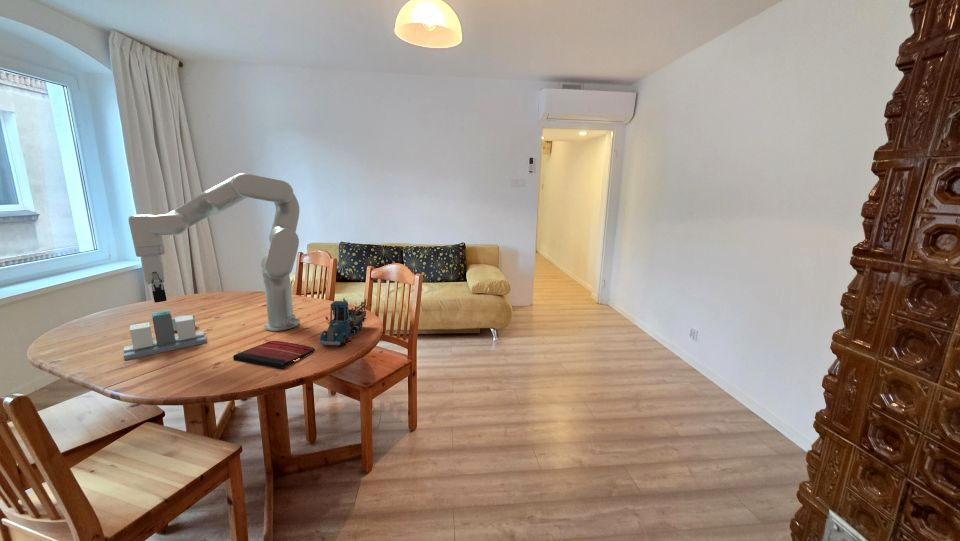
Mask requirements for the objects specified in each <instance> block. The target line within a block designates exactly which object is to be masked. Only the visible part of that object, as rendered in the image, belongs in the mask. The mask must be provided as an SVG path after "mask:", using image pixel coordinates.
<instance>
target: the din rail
mask: <svg viewBox="0 0 960 541" xmlns="http://www.w3.org/2000/svg"><path fill="white" fill-rule="evenodd" d="M197 332H198V333H196V337H194V338H199V337H203V336H205V333H204V331H202V332H200V331H197ZM194 338H189V339H194ZM189 339H184V340H189ZM184 340H179V338H178V337H175V341H174V342H179V341H184ZM174 342H169V343H174ZM169 343H164V344H169ZM164 344H159V345H164ZM131 345H132V346H128V345H126V346H127V347H125V346H124V347H123V354H124V353H125V352H130V351H134V350H139V349H144V348H149V347H154V346H159V345H157V341H154V340H153V346H149V347H144V348H139V349H133V344H131Z"/></svg>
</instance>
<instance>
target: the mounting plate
mask: <svg viewBox="0 0 960 541" xmlns="http://www.w3.org/2000/svg"><path fill="white" fill-rule="evenodd" d="M195 332H196V333H198V332H203V330H200V331H195ZM175 337H178V335H175ZM153 341H156V339H155V340H153ZM206 343H207V339H206V337H205V335H204V336H203V337H199V338H194V339H189V340H184V341H179V342H174V343H169V344H164V345H159V346H154V347H149V348H144V349H139V350H134V351H130V352H125V353H124V352H123V359H124V361H126V360H131V359H136V358H141V357H145V356H150V355H155V354H160V353H164V352H168V351H172V350H173V351H174V350H178V349H179V350H180V349H182V348H187V347H192V346H196V345H201V344H206ZM132 345H133V344H130V345H124V347H127V346H132Z"/></svg>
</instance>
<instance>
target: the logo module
mask: <svg viewBox="0 0 960 541" xmlns="http://www.w3.org/2000/svg"><path fill="white" fill-rule="evenodd" d="M151 318H152V319H151V320H152V324H153V329H154V335H155V340H156V341H157V345H159V344H164V343H169V342H174V341H175V336H176V335H175V331H174V329H173V323H172V318H173V317H172V313H171V310H169V309H165V310H158V311H152V313H151Z"/></svg>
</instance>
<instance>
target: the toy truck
mask: <svg viewBox="0 0 960 541" xmlns="http://www.w3.org/2000/svg"><path fill="white" fill-rule="evenodd" d="M366 302H367V298H364V301H361V302H360V304H359V305H358V306H354V308H353V307H351V309H350V308H349V302H348V301H347V299H345V297H343V299H342V300H335V301H333V302H332V303H330V305H329V306H330V314H329V315H330V318H329V317H328V316H325V320H326V321H327V322H326V323H327V324H328V327H327V330H323V331H322V332H321V333H320V337H319V344H320V345H322V346H342V347H343V346H347V345H346V344H349V343H348V342H351V343H352V340H349V338H352V337H353V336H354V335H355V334H357V333H358V332H359V331H361V330H362V329H363V324H364V323H365V320H366V319H367V317H366V316H367V310H366V307H367V305H366V304H367V303H366ZM329 319H330V320H329ZM361 328H362V329H361ZM360 329H361V330H360ZM346 338H347V340H346Z"/></svg>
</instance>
